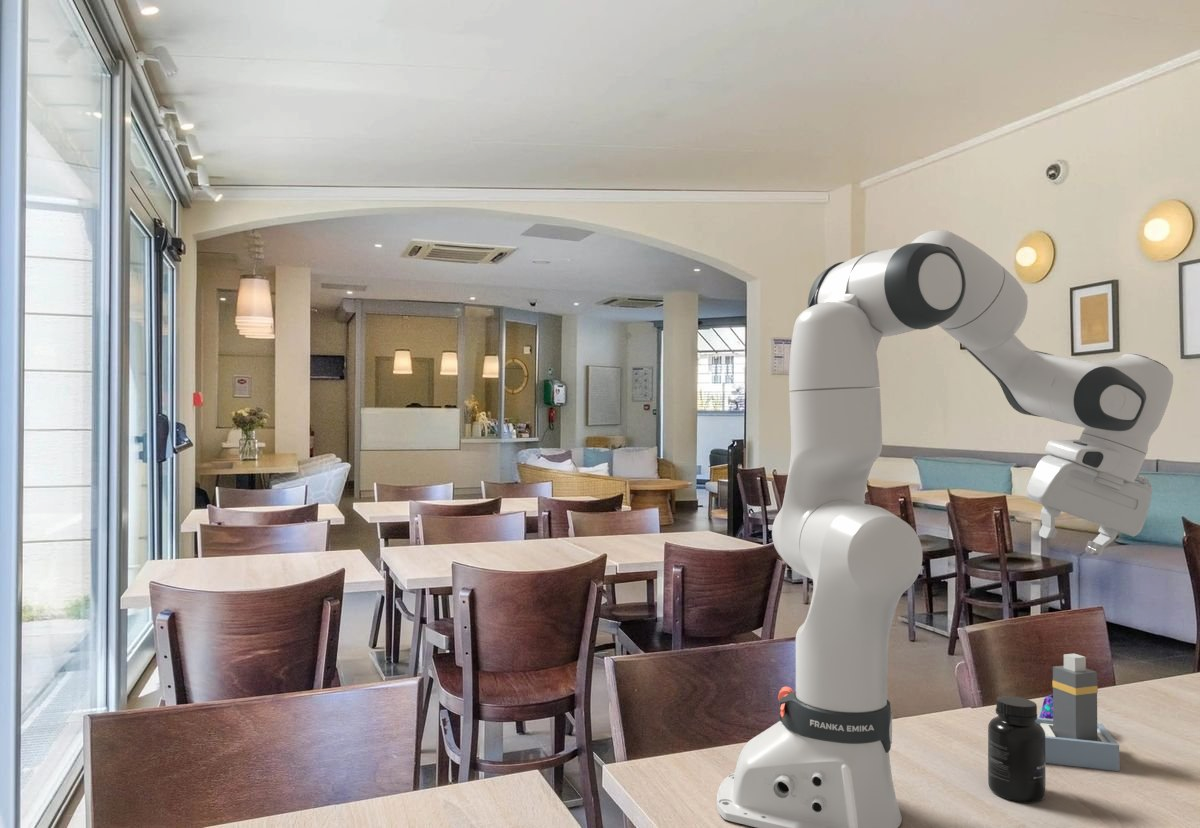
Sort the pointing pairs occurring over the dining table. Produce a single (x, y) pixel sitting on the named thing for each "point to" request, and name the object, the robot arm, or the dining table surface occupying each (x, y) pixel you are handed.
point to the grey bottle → (1074, 699)
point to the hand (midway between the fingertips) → (1069, 546)
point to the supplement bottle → (1016, 751)
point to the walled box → (1080, 749)
